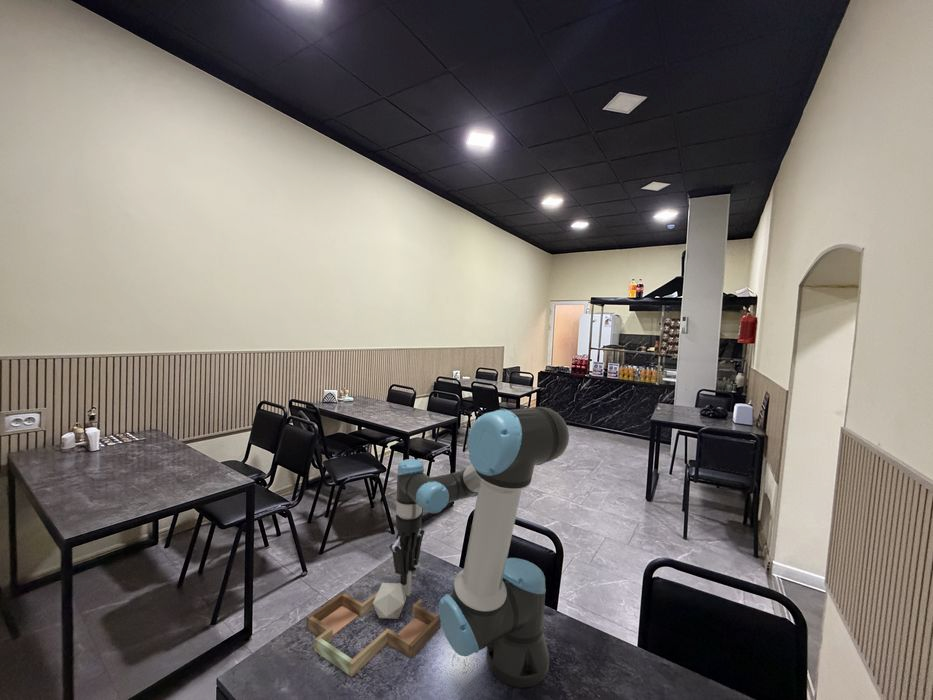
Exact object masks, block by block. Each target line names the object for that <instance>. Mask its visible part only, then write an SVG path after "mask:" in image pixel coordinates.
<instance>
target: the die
mask: <svg viewBox="0 0 933 700" xmlns="http://www.w3.org/2000/svg"><path fill="white" fill-rule="evenodd" d="M377 592H378V593H377V595H376V597H375V599H374V602H373V605H374V610H375V612H376V614H377V616H378V619H387V620H388V619H389V620H392V619H393V620H394V619H395V620H398V619H399V618H400V615H401V613H402V610H403V607H404V605H405V603H406V601H407V597H406V596H407V595H405V593H404V591H403V588H402V585H401V583H400V582H399V583H398V582H397V583H396V582H395V583H394V582H393V583H392V582H381V584H380V587H379V588H378V590H377Z"/></svg>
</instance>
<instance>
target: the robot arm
mask: <svg viewBox="0 0 933 700" xmlns="http://www.w3.org/2000/svg"><path fill="white" fill-rule="evenodd" d="M569 432H570V431H569V428H568V425H567V423H566V421H565V420H564V418H563V417H562V416H561V415H560V414H559V413H558V412H556V411H555V410H553V409H551V408H549V407H543V406H535V407H534V406H532V407H525V408H515V409H497V410H494V411H490V412H489V411H488V412H486V413H484V414H481V416H478V418H477V419H475V421H474V422H473V424H472V425H471V428H470V430H469V433H468V436H467V451H469V454H468V459H469V461H470V463H471V464H469V465H468V466H467V467H465V468H464V469H461V470H460V471H456V472H452V473H447V474H446V473H445V474H442V475H437V476H436V475H435V476H431V477H430V476H429V475H427V474H425V473H424V471H425V468H424V467H425V466H424V463H423V461H422V460H420V459H415V458H414V459H413V458H411V459H410V458H409V459H408V458H407V459H404V460H401V461H400V462H399V463H398V465H397V473H396V505H395V506H396V507H395V508H396V510H395V511H396V512H395V529H396V530H397V533H396V537H395V539H396V540H395V542H394V544H390V545H389V549H390V550H391V553H392V554H391V555H392V559H393V567H394V572H395V574H398V575H400V578H399V580H400V582H399V583H401V585H402V588H403V591H404V593H405V596H407V597H409V595H411V594H412V580H413V576H414V575H413V573H414V572H415V571H416V570H417V568H416V567H415V566H418V564H419V560H420V554H421V547H422V542H423V537H424V535H425V532H426V531H425V529H422V520H423V519H422V513H423V510H425V511H426V512H428V513H429V514H439V513H440V512H442V510H444V509H445V508H446V507H447V505H448V504H449V503H453V502H456V501H460V500H464V499H467V498H468V499H469V498H475V497H476V502H475V508H474V513H473V519H472V524H471V529H470V535H469V541H468V544H467V550H466V556H465V561H464V567H463V569H461V570H460V571H459V572H458V573H457V575H455V578H454V583H453V588H452V592H451V593H447V594H445V595H444V596H443V597H442V598H440V600H439V603H438V614H439V615H438V616H440V621H441V623H440V626H441V627H442V630H443V633H444V636H445V638H446V640H447V642H448V643H449V645H450V647H451V648H452V650H453V651H454V652H455V653H456V654H457V655H459V656H462V657H469V656H470V655H473V654H477V653H480V652H479V651H481V650H483V649H485V648H486V653H485V654H486V655H485V656H486V657H485V658H486V665H487V667H488V668H489V670H490V671H491V673H492V674H493V675H494V677H496V679H498V680H499V681H501V682H503V683H504V684H507V685H508V686H511V687H514V688H515V687H516V688H531V687H534V686H537V685H538V684H540V683H541V682H543V681H544V680H545V679H546V677H547V675H548V673H549V671H550V670H549V669H550V653H549V649H548V646H547V641H546V637H545V634H544V619H545V618H544V617H545V605H546V604H545V603H546V602H545V601H546V591H547V589H546V577H545V575H544V572H543V571H542V569H541V568H539V567H538V566H537V565H536V564H534V563H533V562H530V561H529V560H526V559H522V558H518V557H508V556H509V552H510V550H509V549H510V546H511V543H512V542H511V541H512V537H513V532H514V528H515V527H514V526H515V523H516V518H517V513H518V512H517V511H518V508H519V503H520V499H521V493H522V490H525V489H526V488H528V487H529V486H530V485H531V482H532V479H533V474H534V469H535V466H541V465H543V464H546V463H548V462H551V461H554V460H556V459H558V458H559V457H560V456H562V455H563V453H565V451H566V449H567V447H568V445H569V441H570V433H569Z"/></svg>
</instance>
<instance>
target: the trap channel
mask: <svg viewBox="0 0 933 700" xmlns="http://www.w3.org/2000/svg"><path fill="white" fill-rule="evenodd" d="M377 593H378V591H376V592H375V593H374V594H372V595H371V596H370V597H369V598H367V599H366V600H364V601H363V602H361V601H359V600H358V599H356V598H354V597H352V596H350V595H348V594H347V593H345V592H344V591H343V592H341V593H339V594H338V595H337V596H335V597H334V598H332V599H331V600H329V601H328V602H326V603H327V604H326V603H325V604H323V605H322V606H323V607H322V606H321V608H320V607H319V608H320V609H319V608H318V610H317V609H316V610H317V611H316V610H314V611H313V612H314V613H313V612H312V613H313V614H312V613H310V614H311V615H310V614H309V615H310V616H309V615H308V616H309V617H308V618H307V617H306V618H305V619H306V620H305V621H306V622H305V623H306V625H305V626H306V627H305V629H307V630H308V631H310V632H312V633H313V634H314V635H316V637H315V638H314V653H315V652H316V653H317V654H319V656H321V657H322V658H324V659H325V660H327V661H328V662H329V663H331V664H332V665H334V666H336V668H338V669H340V670H341V671H342V672H344V673H345V674H347V675H348V676H349V677H351V678H353V676H355V675H356V674H357V673H358V672H359V671H360V670H361V669H362V668H363V667H364V666H365V665H366V664H368V662H370V660H372V658H373V657H375V656H376V655H377V654H378V653H379V652H380V651H381V650H382V649H383V648H384V647H385V646H386V645H389V646H390V647H391V648H393V649H395V650H396V651H398V652H399V653H402V654H403V655H405V656H407V657H409V658H410V659H413V658H414V657H415V656H416V655H417V654H418V652H420V650H421V649H422V648H423V647H424V646H425V645H426V644H427V643H428V641H430V640H431V639H432V637H434V635H435V634H436V633H437V632H438V631H439V630H440V629H441V621H440V616H439V615H438V614H436V613H434V612H431V610H428V609H426V608H424V607H423V603H424V600H423V599H421V598H419V599H418V600H417V601H416V602H415V603H414V604H412V606H411V617H412V618H413V619H412V620H411V621H409V623H407V624H406V625H405V626H404V627H403V628H402V629H401V630H400V631H399V632H398V633H396V632H395V631H393V630H391V629H390V628H387V627H386V629H385V630H383V631H382V632H381V633H380V634H379V635H378V636H377V637H375V638H374V639H373V640H372V641H371V642H369V644H368V645H366V646H365V647H364V648H363V649H362V650H361V651H360V652H358V654H356V655H355V656H354V657H353V658H351V657H350V656H349V655H347V654H345V653H344V652H343V651H341V650H340V649H338V648H336V647H335V646H333V645H332V644H330V643H331V642H333V636H335V635H336V634H337V633H339V631H341V630H343V628H344V627H346V626H348V625H349V624H350V623H351V622H353V621H354V620H355V619H356V618H358V616H359V617H361V618H363V617H364V616H365V615H367V614H368V613H369V612H371V611H372V610H373V609H375V607H374V605H373V602H374V599H375V597H376V595H377Z"/></svg>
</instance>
